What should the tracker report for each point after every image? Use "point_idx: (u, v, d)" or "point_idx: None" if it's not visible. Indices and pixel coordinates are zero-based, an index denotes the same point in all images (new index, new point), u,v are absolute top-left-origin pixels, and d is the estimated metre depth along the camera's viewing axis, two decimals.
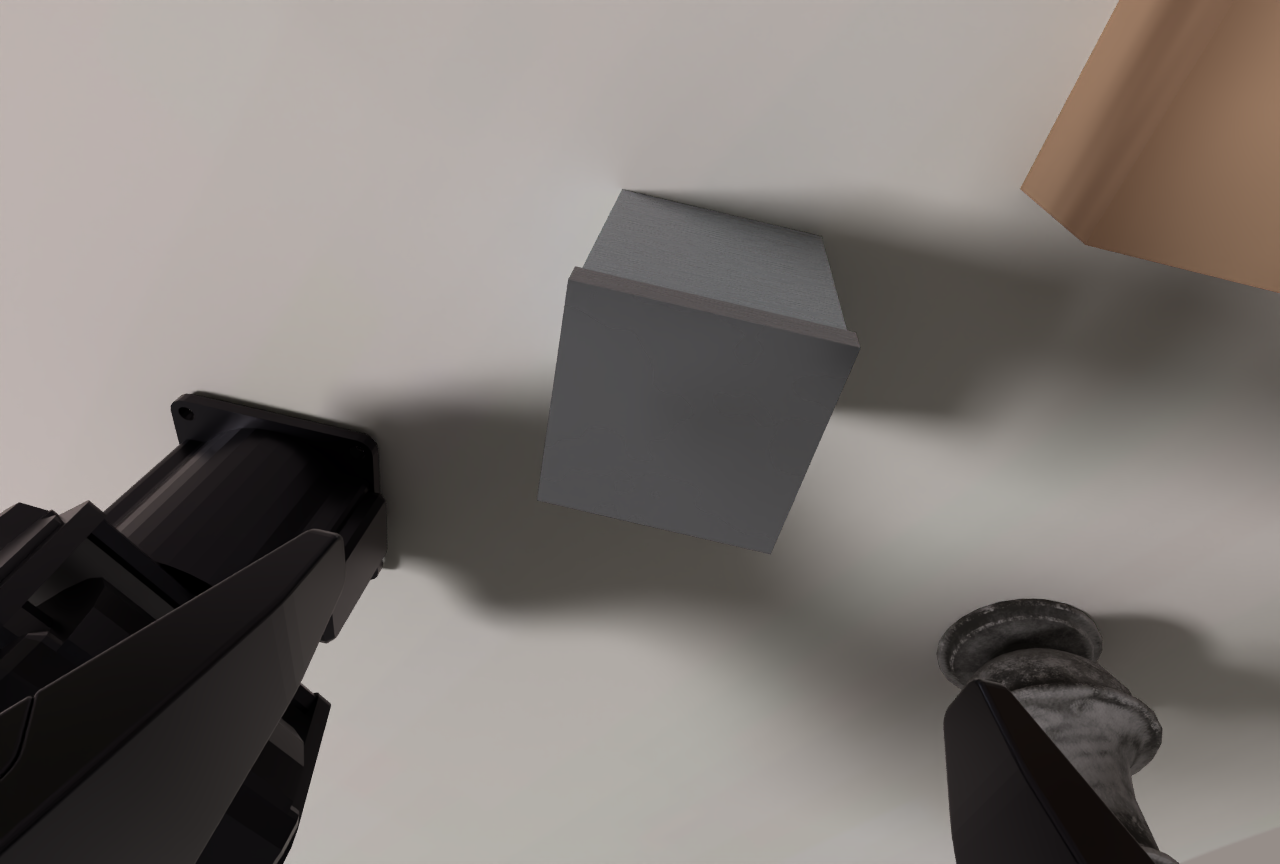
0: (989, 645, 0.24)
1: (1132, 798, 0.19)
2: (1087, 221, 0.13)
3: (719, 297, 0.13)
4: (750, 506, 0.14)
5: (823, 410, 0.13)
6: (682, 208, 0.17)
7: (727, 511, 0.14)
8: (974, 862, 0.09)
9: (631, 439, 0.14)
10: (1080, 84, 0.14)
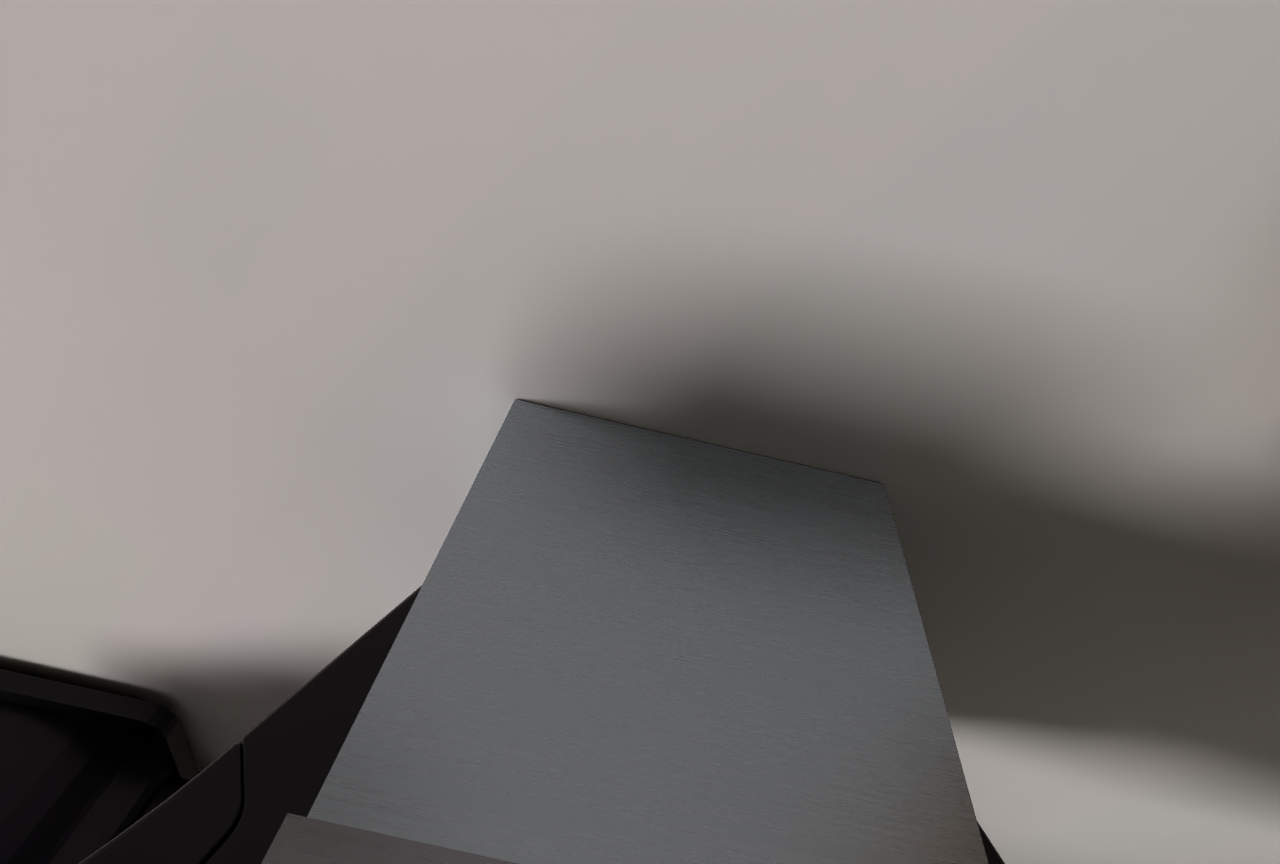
0: None
1: None
2: None
3: (681, 848, 0.05)
4: None
5: None
6: (626, 443, 0.09)
7: None
8: None
9: None
10: None
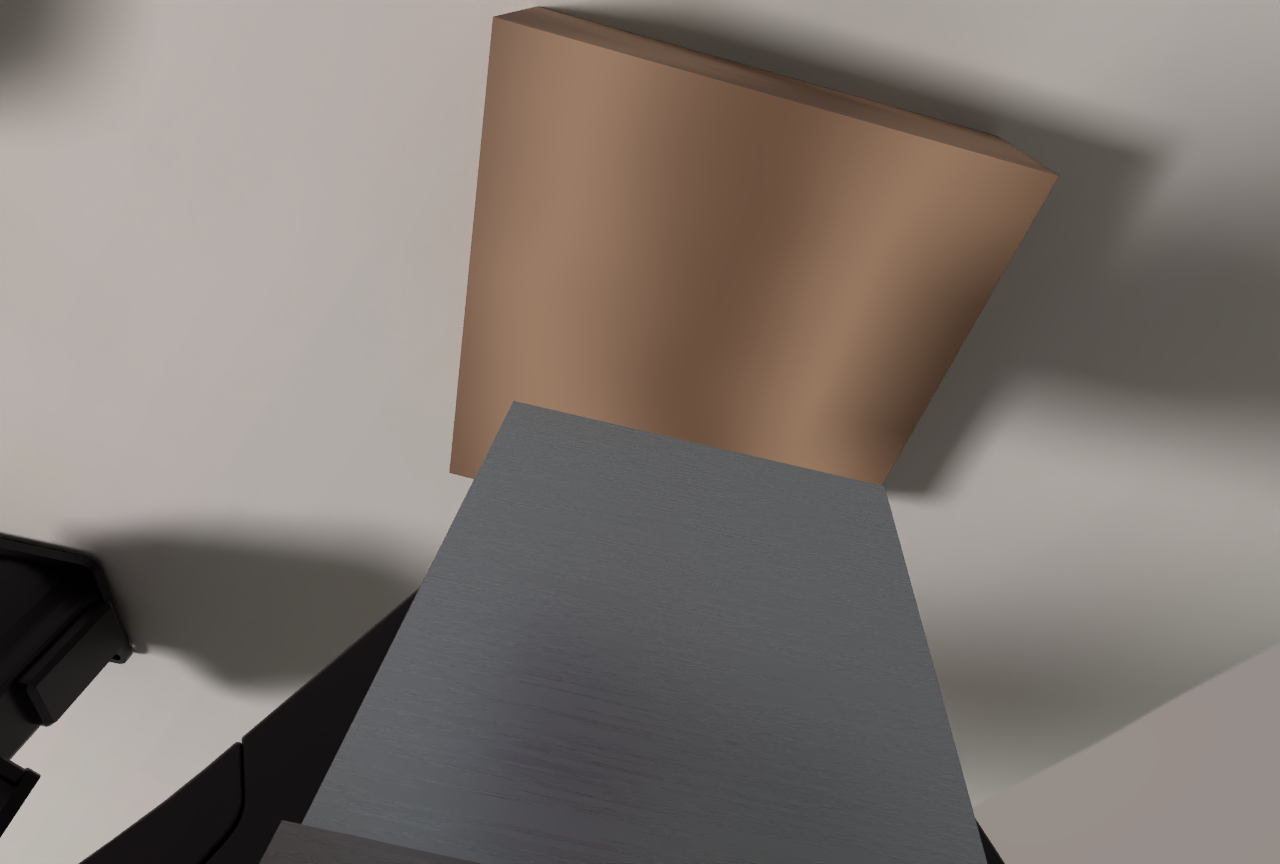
0: None
1: None
2: None
3: (679, 855, 0.05)
4: None
5: None
6: (625, 444, 0.09)
7: None
8: None
9: None
10: None
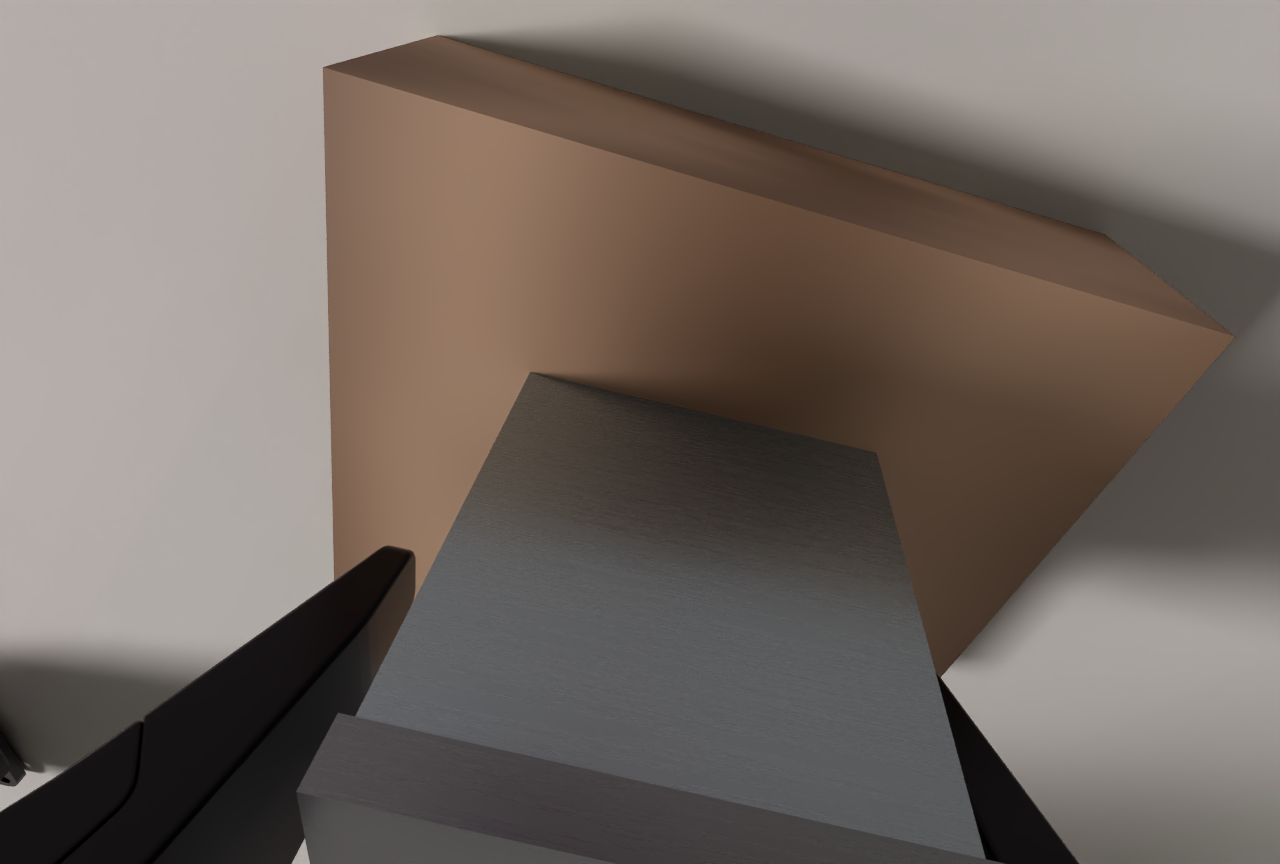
0: None
1: None
2: None
3: (685, 753, 0.06)
4: None
5: None
6: (634, 412, 0.09)
7: None
8: None
9: None
10: None
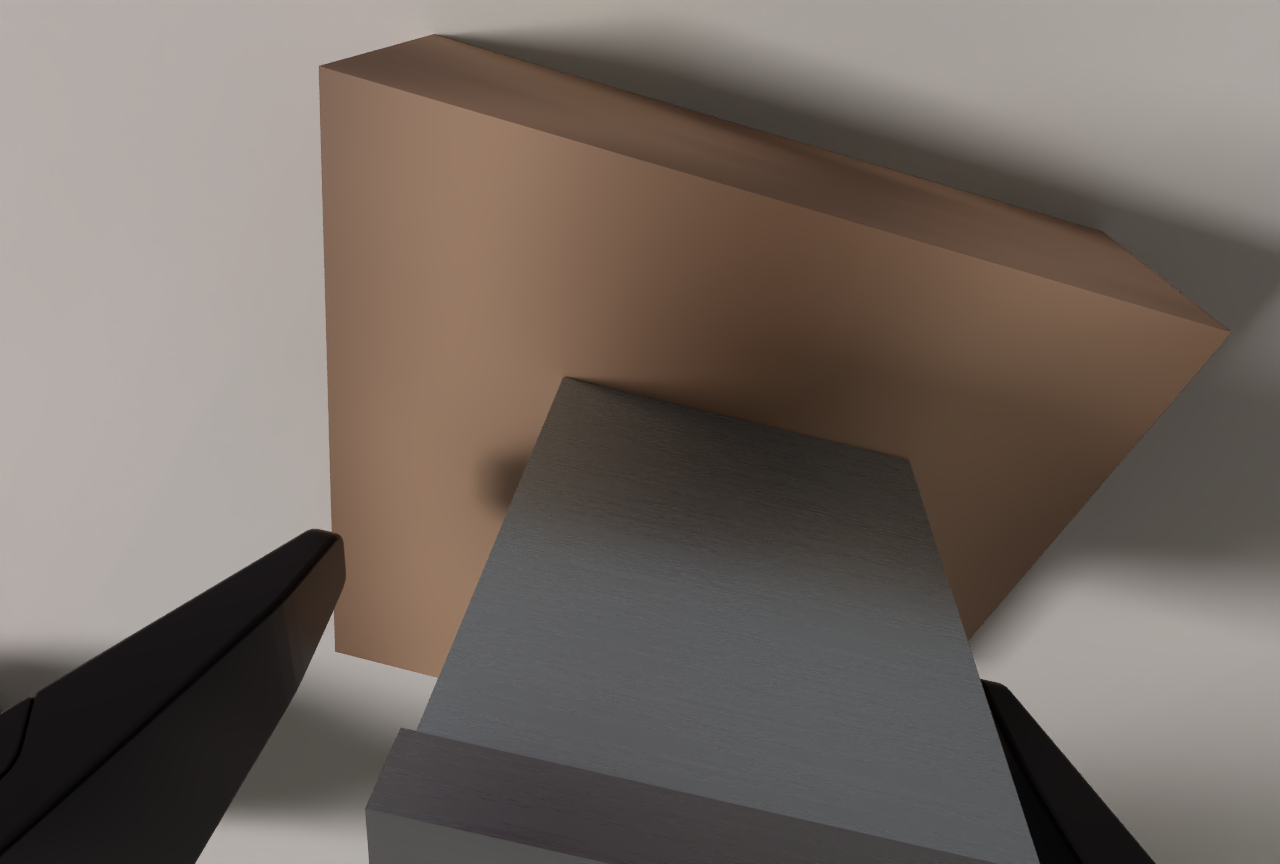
0: None
1: None
2: None
3: (743, 767, 0.06)
4: None
5: None
6: (668, 417, 0.09)
7: None
8: None
9: None
10: None
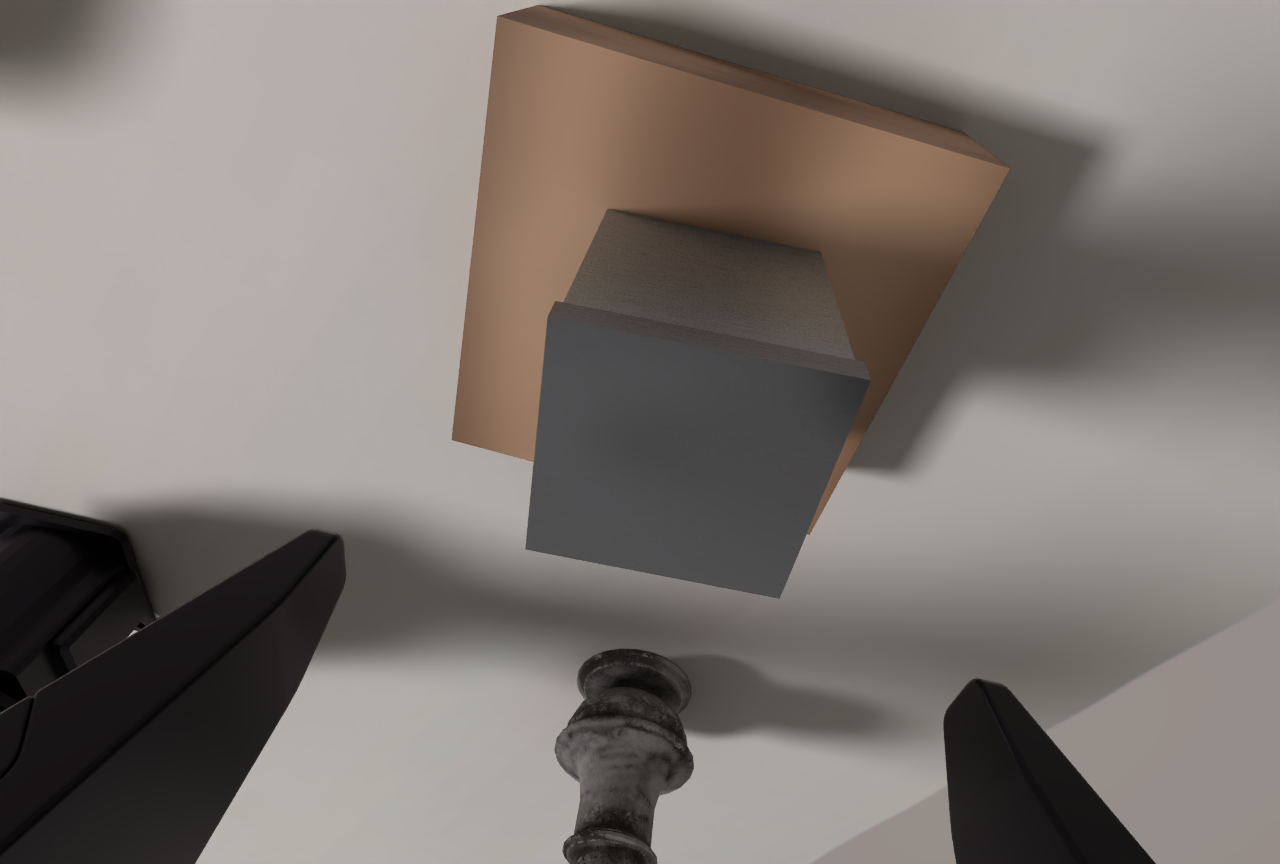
0: (604, 683, 0.31)
1: (640, 799, 0.26)
2: None
3: (714, 328, 0.12)
4: (756, 549, 0.13)
5: (832, 447, 0.12)
6: (672, 227, 0.16)
7: (731, 555, 0.13)
8: (974, 862, 0.09)
9: (624, 484, 0.13)
10: None
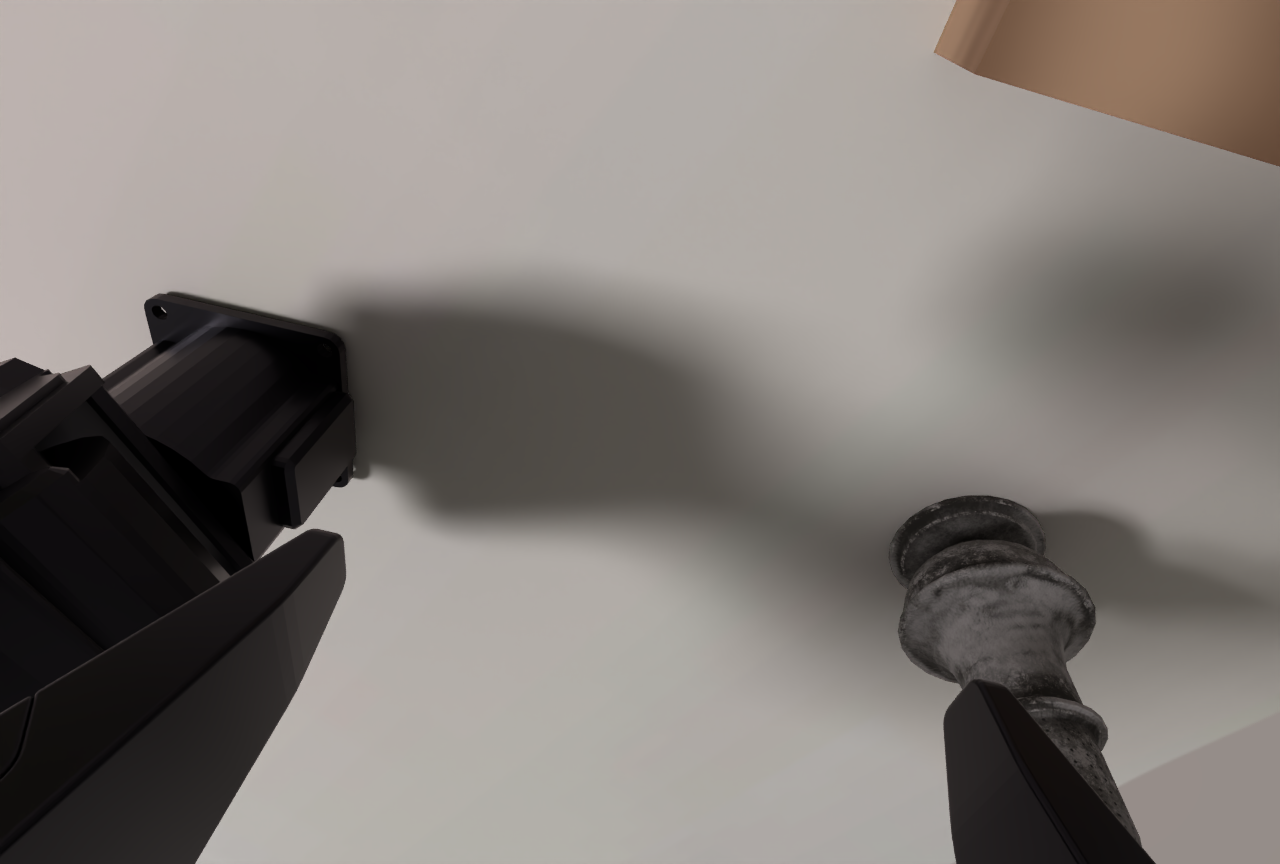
0: (937, 544, 0.24)
1: (1062, 665, 0.20)
2: (978, 53, 0.14)
3: None
4: None
5: None
6: None
7: None
8: (974, 862, 0.09)
9: None
10: None
